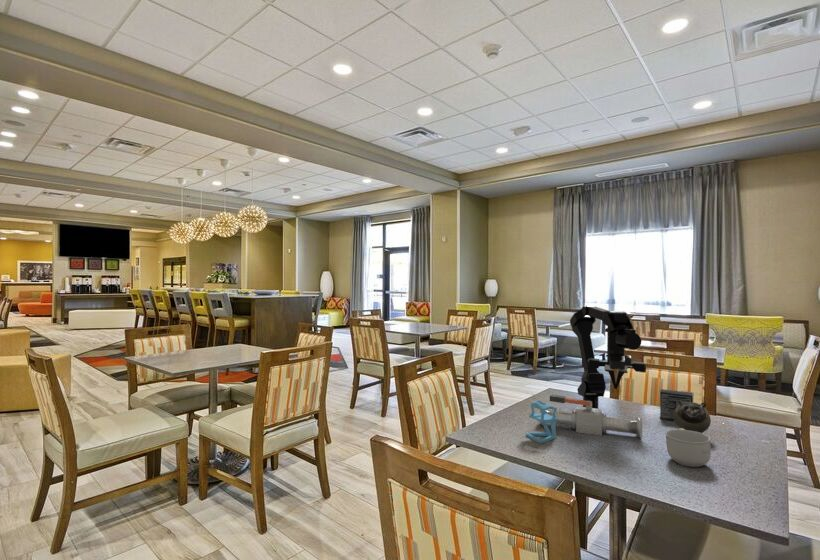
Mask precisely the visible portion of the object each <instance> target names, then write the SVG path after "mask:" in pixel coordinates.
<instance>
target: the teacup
mask: <svg viewBox="0 0 820 560" xmlns="http://www.w3.org/2000/svg"><path fill="white" fill-rule="evenodd" d="M664 436H665V441H666V442H665V443H666V451H667V453H668V455H669V457H670V458H671V459H672V460H674V462H676V463H677V464H679V465H681V466H685V467H690V468H691V467H692V468H700V467H702V466H704V465H706V464H707V463H709V461H710V459H711V450H712V449H711V440H712V439H711V437H710V436H709V435H707V434H705V433H704V432H703V433H700V432H696V431H690V430H685V429H683V428H680V427H679V428H678V429H669V430H667V431H666V432H665V435H664Z"/></svg>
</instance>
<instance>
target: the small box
mask: <svg viewBox="0 0 820 560" xmlns="http://www.w3.org/2000/svg"><path fill="white" fill-rule="evenodd" d="M659 395H660V397H659V401H660V403H659V404H660V405H659V408H660V409H659V410H660V413H659V419H660V420H664V421H670V422H671V421H672V422H675V421H674V411H675V409H676V407H677V406H678V405H679V399H680V400H683V402H693V401H694V399H693V397H694V396H693V392H690V391H679V390H672V389H663V388H660V390H659Z"/></svg>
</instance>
